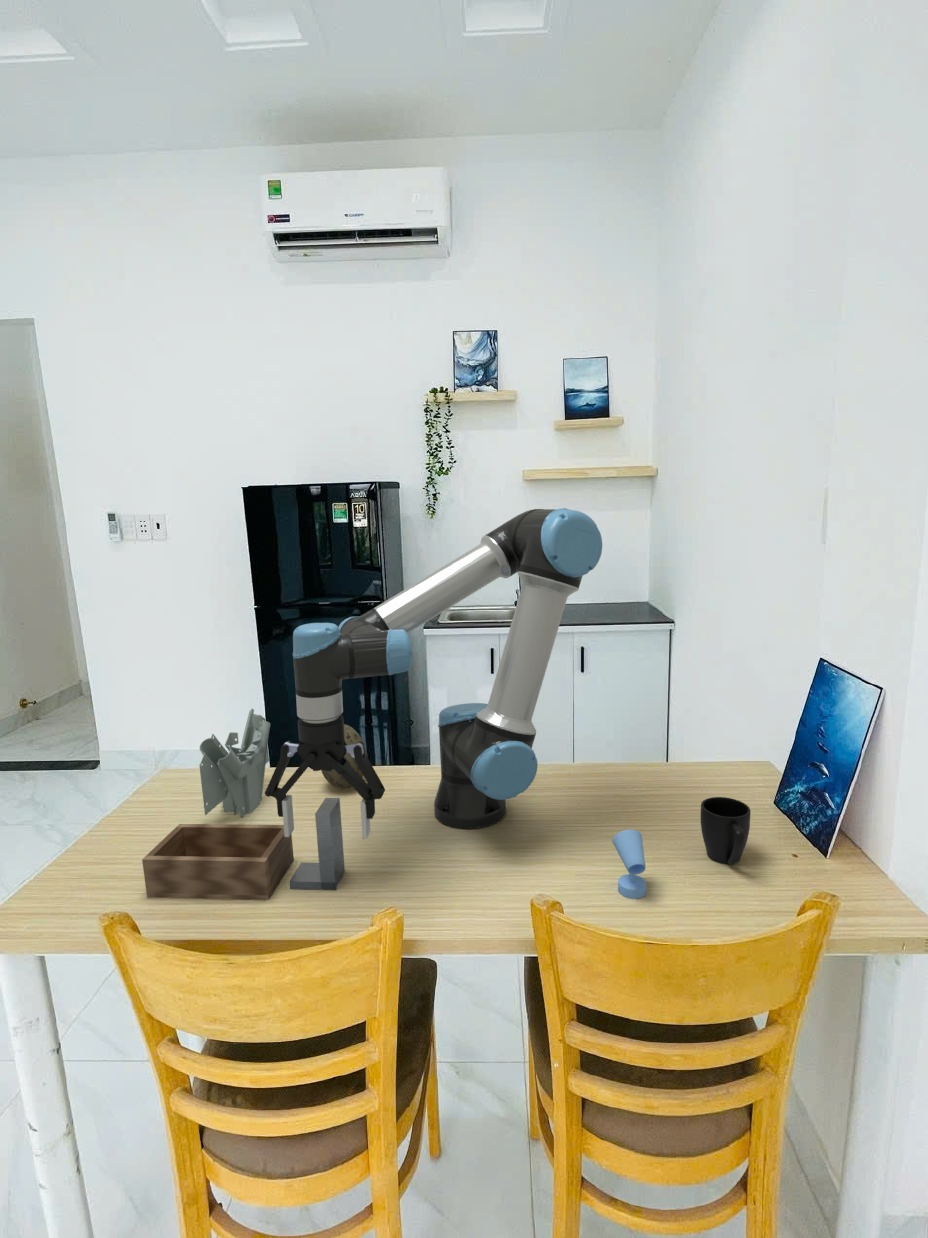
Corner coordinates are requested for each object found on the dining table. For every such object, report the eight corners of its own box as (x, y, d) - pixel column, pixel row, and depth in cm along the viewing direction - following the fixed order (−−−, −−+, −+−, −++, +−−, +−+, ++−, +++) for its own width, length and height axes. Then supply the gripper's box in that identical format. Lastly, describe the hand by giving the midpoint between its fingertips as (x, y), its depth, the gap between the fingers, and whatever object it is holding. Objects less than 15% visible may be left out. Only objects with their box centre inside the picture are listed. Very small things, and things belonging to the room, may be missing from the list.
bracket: (225, 840, 132) (215, 744, 128) (192, 838, 133) (181, 743, 129) (285, 781, 158) (278, 701, 155) (257, 780, 159) (250, 700, 156)
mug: (711, 880, 112) (713, 828, 111) (694, 843, 124) (695, 796, 122) (762, 881, 111) (765, 828, 110) (740, 844, 123) (742, 796, 121)
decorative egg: (370, 793, 150) (366, 730, 148) (322, 799, 148) (317, 735, 145) (367, 774, 161) (363, 715, 158) (322, 780, 158) (317, 719, 156)
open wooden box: (293, 859, 123) (290, 825, 122) (268, 899, 111) (264, 861, 110) (183, 858, 125) (179, 823, 124) (147, 897, 113) (142, 859, 112)
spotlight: (610, 878, 114) (622, 902, 107) (611, 824, 112) (622, 845, 105) (639, 876, 114) (652, 900, 107) (639, 822, 112) (653, 843, 106)
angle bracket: (344, 870, 119) (339, 797, 117) (335, 890, 113) (329, 813, 111) (301, 869, 120) (295, 797, 117) (290, 889, 114) (283, 813, 112)
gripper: (398, 709, 114) (402, 825, 117) (257, 708, 116) (265, 821, 120) (389, 724, 106) (394, 847, 110) (239, 722, 108) (248, 843, 112)
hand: (327, 834), depth 115 cm, fingers open, 13 cm apart
